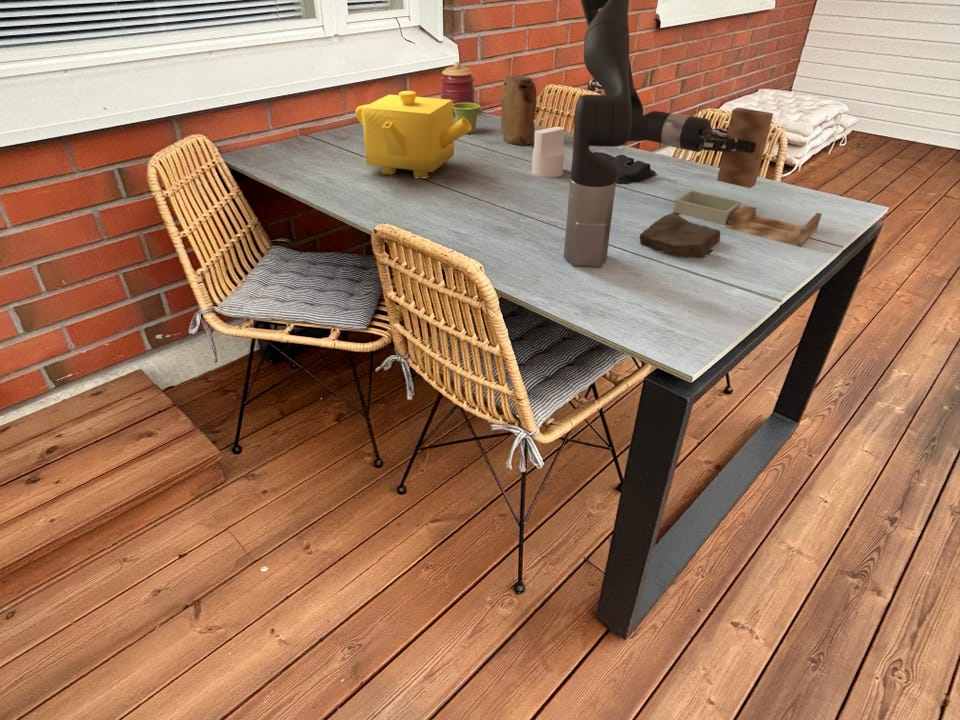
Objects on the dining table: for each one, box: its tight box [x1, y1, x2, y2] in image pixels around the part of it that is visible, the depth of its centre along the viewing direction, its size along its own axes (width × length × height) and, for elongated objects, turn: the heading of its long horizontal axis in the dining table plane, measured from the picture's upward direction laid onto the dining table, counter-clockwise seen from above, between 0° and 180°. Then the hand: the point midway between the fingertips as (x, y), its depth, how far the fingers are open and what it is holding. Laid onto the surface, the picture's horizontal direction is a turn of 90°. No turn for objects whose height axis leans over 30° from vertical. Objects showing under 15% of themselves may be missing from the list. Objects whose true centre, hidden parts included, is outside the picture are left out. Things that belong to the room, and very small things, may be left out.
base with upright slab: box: [531, 126, 566, 178], centre depth 184 cm, size 9×9×12 cm
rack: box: [724, 204, 822, 248], centre depth 150 cm, size 17×12×5 cm
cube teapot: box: [355, 90, 472, 179], centre depth 183 cm, size 35×30×21 cm
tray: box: [672, 189, 742, 226], centre depth 159 cm, size 13×9×4 cm
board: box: [716, 107, 774, 189], centre depth 147 cm, size 8×3×16 cm, turn 51°
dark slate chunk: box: [593, 151, 657, 185], centre depth 188 cm, size 15×22×5 cm
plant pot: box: [453, 102, 481, 135], centre depth 220 cm, size 9×9×9 cm
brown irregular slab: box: [639, 212, 721, 259], centre depth 145 cm, size 17×15×4 cm
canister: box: [439, 61, 476, 117], centre depth 240 cm, size 13×13×18 cm
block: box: [500, 75, 537, 146], centre depth 207 cm, size 11×8×20 cm
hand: (757, 146), depth 145 cm, fingers closed on board, 3 cm apart
